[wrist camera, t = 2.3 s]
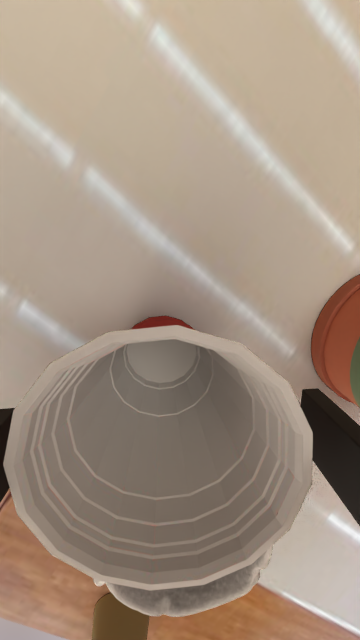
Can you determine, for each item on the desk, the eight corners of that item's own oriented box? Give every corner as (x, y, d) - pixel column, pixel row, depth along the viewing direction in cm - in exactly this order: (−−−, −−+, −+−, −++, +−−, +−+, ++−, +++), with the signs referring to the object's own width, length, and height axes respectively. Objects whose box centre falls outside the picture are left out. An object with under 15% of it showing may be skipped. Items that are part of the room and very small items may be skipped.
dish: (94, 541, 25) (79, 610, 20) (140, 425, 22) (135, 475, 17) (228, 565, 28) (243, 632, 23) (287, 464, 24) (319, 517, 20)
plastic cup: (169, 246, 18) (188, 250, 7) (255, 355, 21) (371, 488, 10) (57, 341, 19) (-90, 482, 8) (152, 431, 22) (145, 631, 11)
